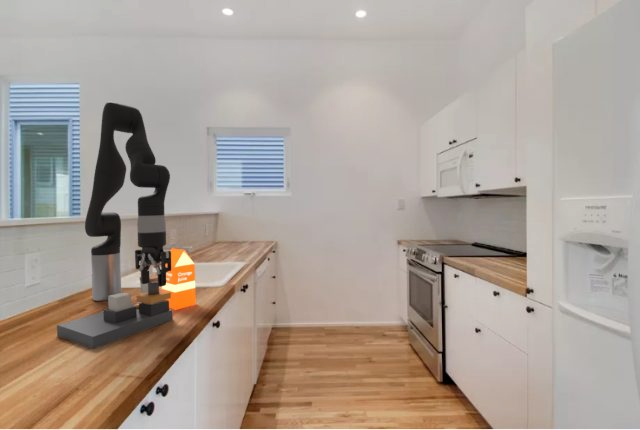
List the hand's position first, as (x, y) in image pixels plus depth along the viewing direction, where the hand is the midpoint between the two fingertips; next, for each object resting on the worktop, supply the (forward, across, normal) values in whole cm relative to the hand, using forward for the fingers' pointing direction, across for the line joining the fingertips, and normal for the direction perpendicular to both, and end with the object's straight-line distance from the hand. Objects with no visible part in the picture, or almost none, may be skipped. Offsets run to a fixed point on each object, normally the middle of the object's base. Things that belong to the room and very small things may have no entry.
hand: (153, 284), depth 94 cm
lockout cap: (+5, 0, 0) cm, 5 cm away
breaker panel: (+11, +6, +8) cm, 15 cm away
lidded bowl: (+12, +22, -16) cm, 29 cm away
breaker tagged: (+8, 0, 0) cm, 8 cm away
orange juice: (+12, +8, -14) cm, 20 cm away
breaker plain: (+6, +4, +8) cm, 11 cm away
